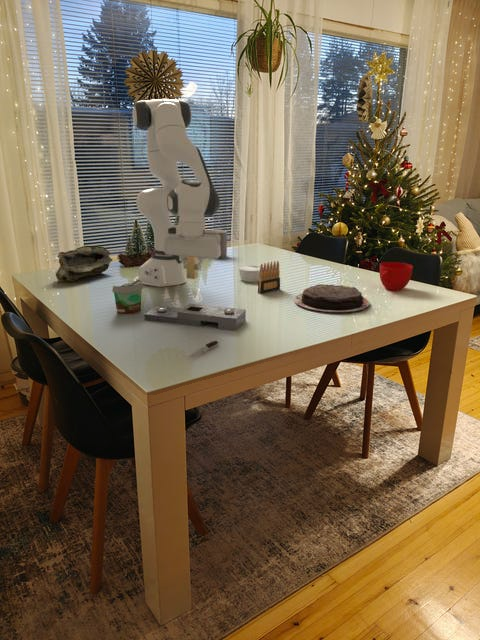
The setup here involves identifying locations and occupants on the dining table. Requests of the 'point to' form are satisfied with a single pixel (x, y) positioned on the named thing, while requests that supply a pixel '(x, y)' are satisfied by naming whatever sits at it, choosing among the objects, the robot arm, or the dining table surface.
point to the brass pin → (191, 267)
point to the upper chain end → (214, 315)
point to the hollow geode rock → (82, 263)
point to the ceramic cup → (395, 275)
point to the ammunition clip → (269, 278)
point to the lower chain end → (169, 316)
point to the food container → (128, 297)
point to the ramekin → (249, 273)
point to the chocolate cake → (332, 299)
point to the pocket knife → (204, 348)
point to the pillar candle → (222, 242)
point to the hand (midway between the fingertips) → (192, 268)
